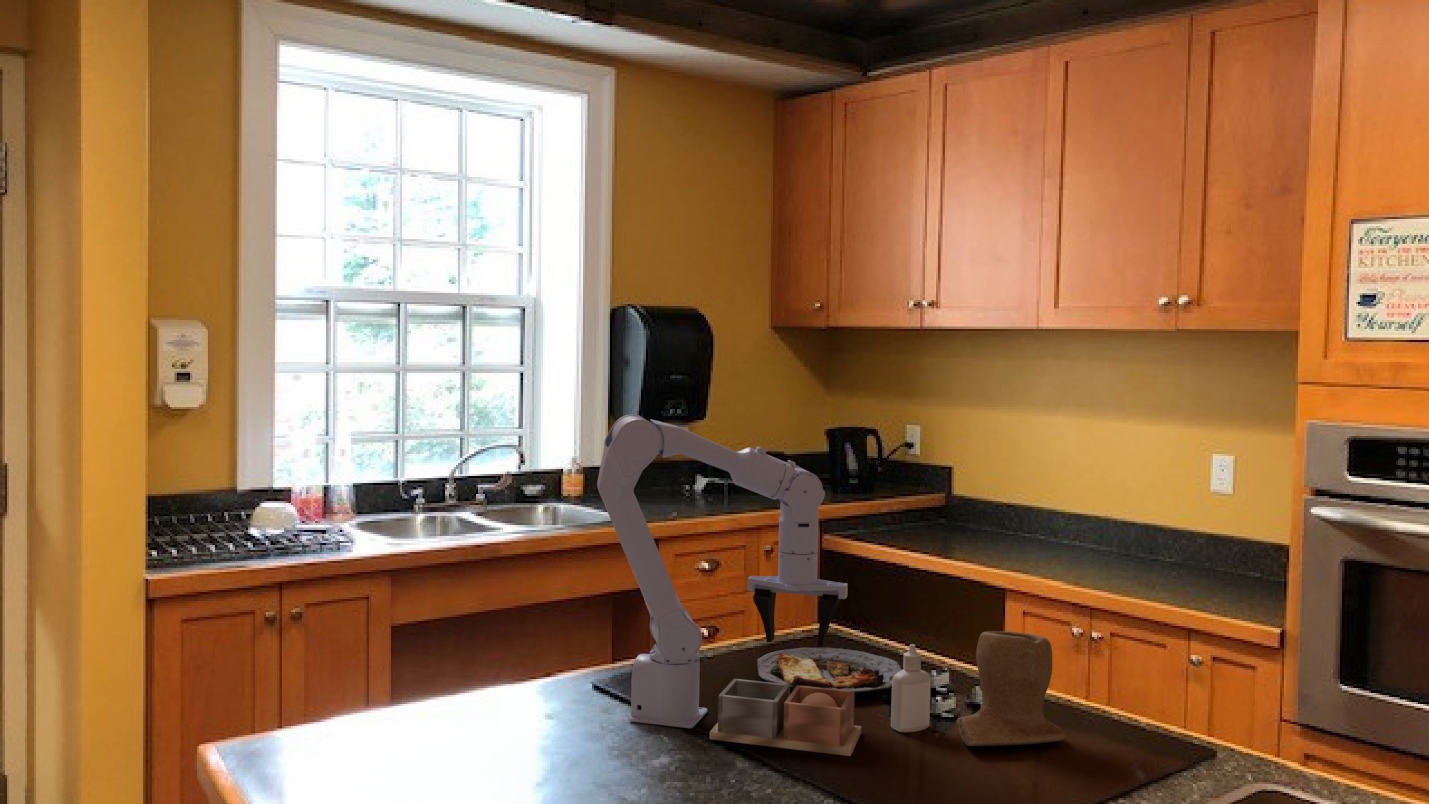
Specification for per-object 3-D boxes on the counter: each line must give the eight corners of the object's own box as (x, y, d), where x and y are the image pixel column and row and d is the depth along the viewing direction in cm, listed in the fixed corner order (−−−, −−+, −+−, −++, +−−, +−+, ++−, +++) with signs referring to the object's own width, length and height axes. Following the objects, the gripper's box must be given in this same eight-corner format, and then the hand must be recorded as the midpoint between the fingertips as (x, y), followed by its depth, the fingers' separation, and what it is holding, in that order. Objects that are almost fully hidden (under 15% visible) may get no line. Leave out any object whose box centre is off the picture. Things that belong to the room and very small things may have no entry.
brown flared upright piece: (1034, 722, 167) (1037, 620, 166) (1076, 751, 155) (1080, 642, 154) (936, 727, 164) (939, 623, 163) (971, 757, 152) (975, 646, 151)
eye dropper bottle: (932, 734, 161) (935, 649, 160) (892, 732, 161) (894, 648, 160) (927, 723, 165) (929, 641, 165) (888, 722, 165) (890, 640, 165)
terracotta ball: (795, 738, 156) (794, 698, 155) (803, 724, 161) (803, 686, 161) (835, 741, 154) (835, 701, 154) (842, 728, 159) (842, 689, 159)
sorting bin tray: (709, 739, 157) (710, 696, 157) (727, 717, 166) (728, 676, 166) (850, 756, 152) (851, 711, 151) (861, 733, 161) (862, 691, 160)
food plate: (914, 705, 173) (914, 682, 173) (759, 703, 173) (759, 680, 173) (890, 662, 198) (891, 642, 198) (755, 660, 198) (755, 640, 198)
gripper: (743, 552, 165) (741, 645, 166) (842, 559, 161) (840, 654, 162) (754, 543, 172) (752, 633, 173) (850, 550, 168) (848, 642, 169)
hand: (795, 642), depth 168 cm, fingers open, 7 cm apart
